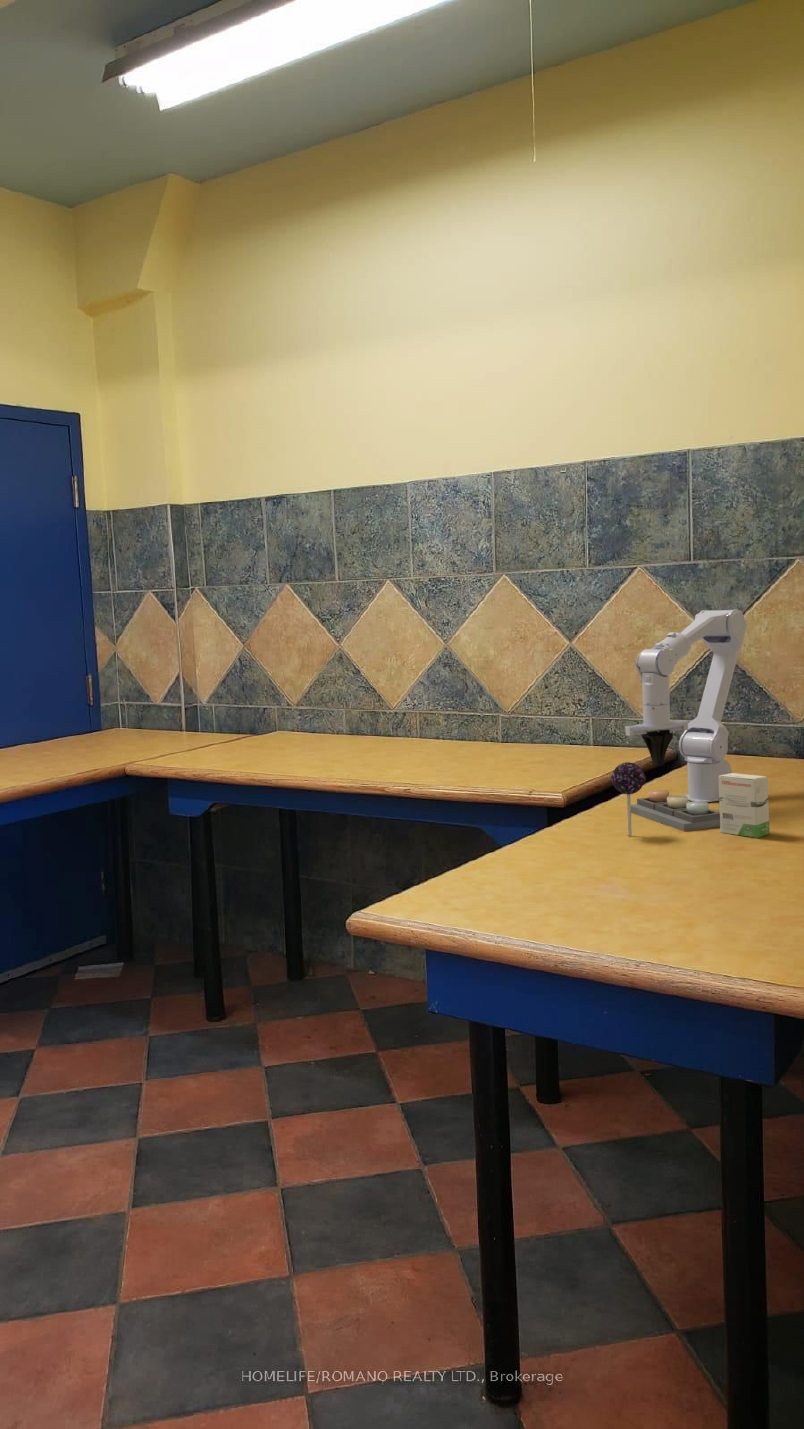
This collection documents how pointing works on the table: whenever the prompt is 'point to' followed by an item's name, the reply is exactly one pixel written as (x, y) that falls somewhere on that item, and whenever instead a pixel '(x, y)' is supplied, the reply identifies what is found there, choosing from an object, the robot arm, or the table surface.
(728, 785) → the ink box
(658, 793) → the terracotta button
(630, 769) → the lollipop
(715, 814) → the panel
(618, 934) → the table surface
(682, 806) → the cream button
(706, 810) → the blue-grey button
